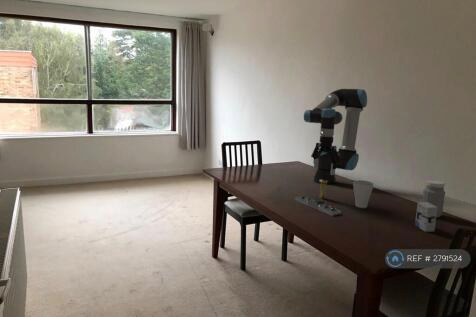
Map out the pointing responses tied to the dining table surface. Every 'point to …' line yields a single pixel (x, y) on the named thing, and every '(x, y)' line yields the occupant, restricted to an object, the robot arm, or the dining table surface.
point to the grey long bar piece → (318, 205)
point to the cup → (362, 192)
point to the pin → (322, 188)
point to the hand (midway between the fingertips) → (323, 172)
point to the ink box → (426, 216)
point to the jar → (435, 195)
